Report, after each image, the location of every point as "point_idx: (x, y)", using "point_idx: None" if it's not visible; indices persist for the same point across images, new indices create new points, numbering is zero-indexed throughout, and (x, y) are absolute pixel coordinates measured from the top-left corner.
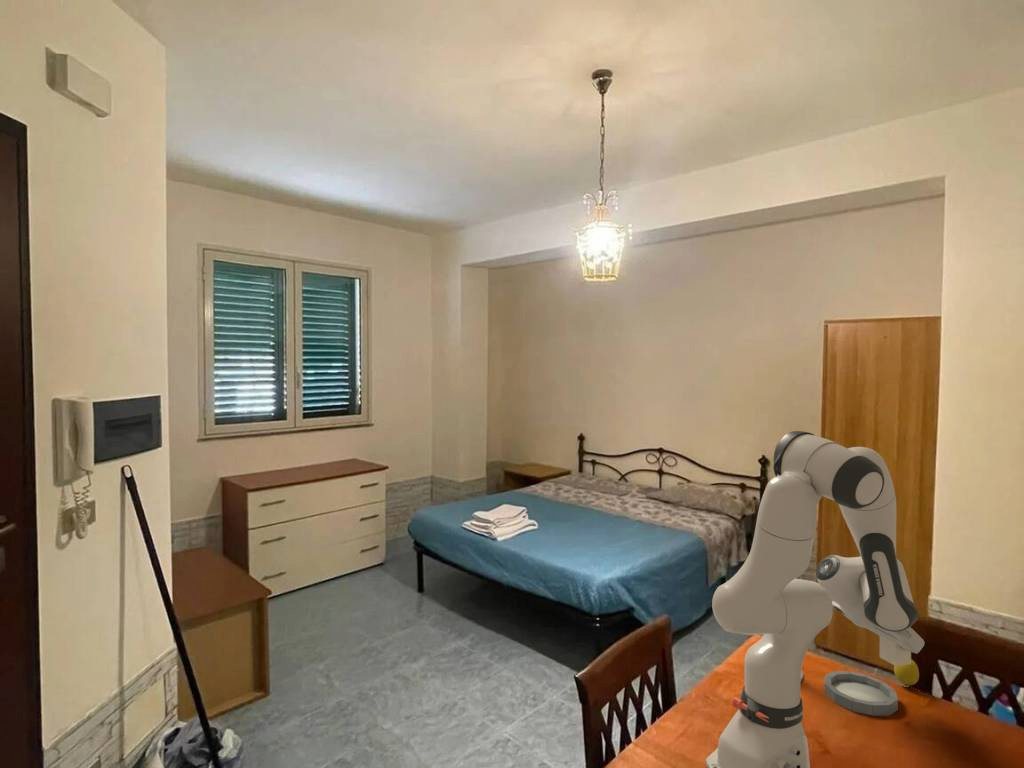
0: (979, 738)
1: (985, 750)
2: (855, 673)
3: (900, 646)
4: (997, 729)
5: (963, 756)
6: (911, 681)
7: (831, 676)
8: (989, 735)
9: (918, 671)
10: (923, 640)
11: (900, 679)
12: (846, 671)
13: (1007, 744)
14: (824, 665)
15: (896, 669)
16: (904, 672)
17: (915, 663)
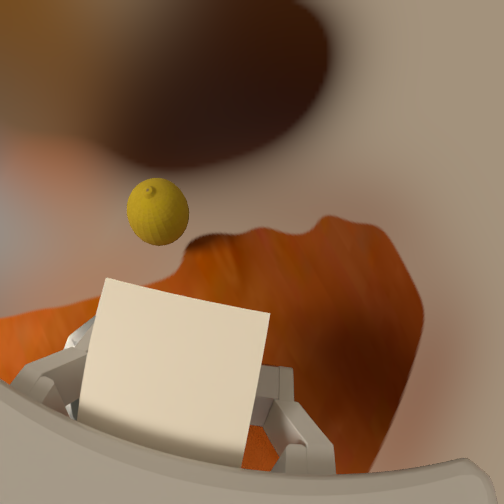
0: (371, 304)
1: (398, 336)
2: (83, 332)
3: (252, 424)
4: (361, 234)
5: (393, 400)
6: (182, 233)
7: (68, 406)
8: (370, 272)
9: (184, 197)
10: (493, 486)
11: (158, 245)
12: (68, 343)
13: (398, 272)
14: (24, 316)
15: (142, 236)
16: (164, 235)
17: (172, 186)
